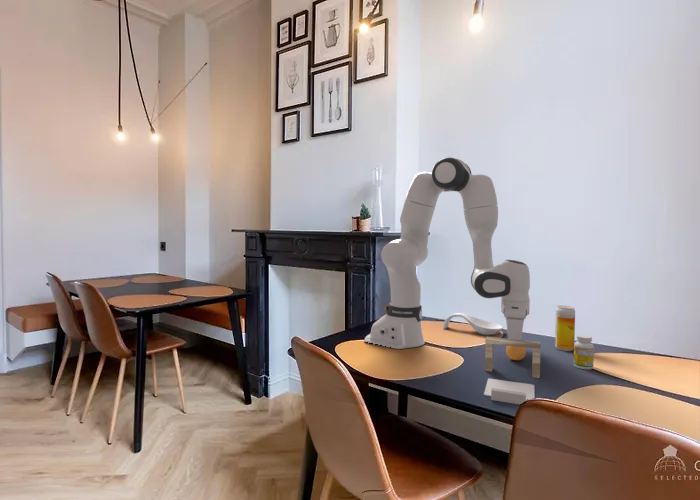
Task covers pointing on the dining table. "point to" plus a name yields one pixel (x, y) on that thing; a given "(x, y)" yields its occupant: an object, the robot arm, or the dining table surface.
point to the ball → (515, 352)
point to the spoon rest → (477, 324)
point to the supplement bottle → (583, 352)
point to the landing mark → (510, 387)
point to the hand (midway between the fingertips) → (514, 348)
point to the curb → (508, 396)
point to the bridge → (512, 342)
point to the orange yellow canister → (565, 328)
